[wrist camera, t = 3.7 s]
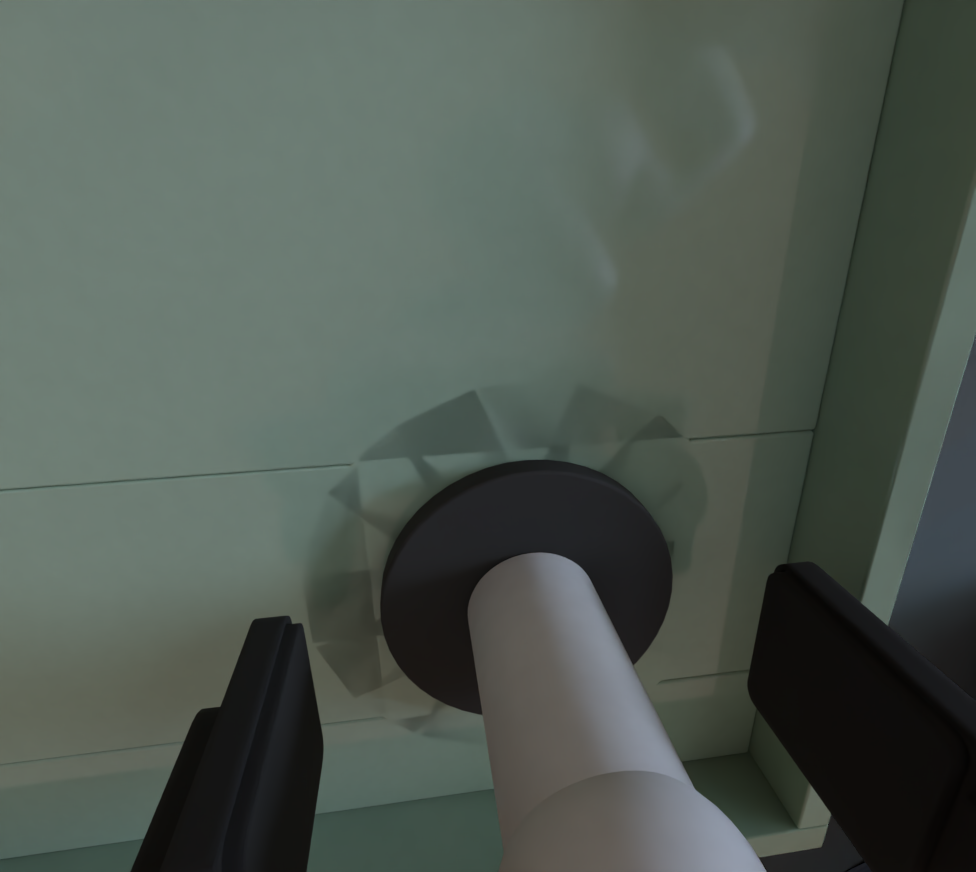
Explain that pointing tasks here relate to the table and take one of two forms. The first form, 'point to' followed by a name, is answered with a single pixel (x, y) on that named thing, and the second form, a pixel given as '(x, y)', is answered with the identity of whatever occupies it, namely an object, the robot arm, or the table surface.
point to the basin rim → (831, 467)
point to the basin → (392, 345)
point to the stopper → (555, 666)
